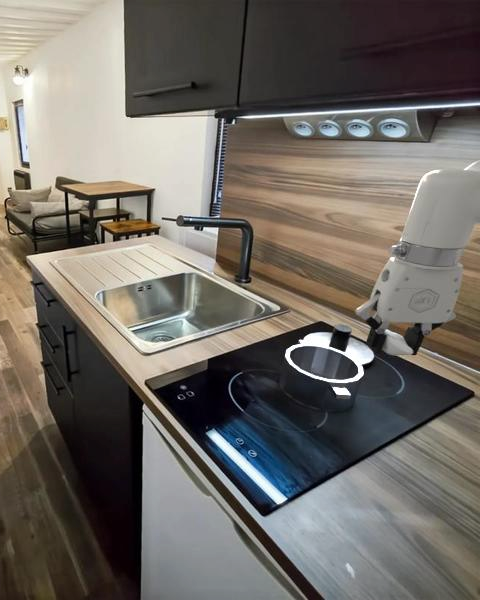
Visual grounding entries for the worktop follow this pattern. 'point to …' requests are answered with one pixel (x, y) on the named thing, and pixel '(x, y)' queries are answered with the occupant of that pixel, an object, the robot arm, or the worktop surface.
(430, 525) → the worktop surface
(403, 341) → the dumpling
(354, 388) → the pot
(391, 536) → the worktop surface
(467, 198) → the robot arm
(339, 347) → the lid
